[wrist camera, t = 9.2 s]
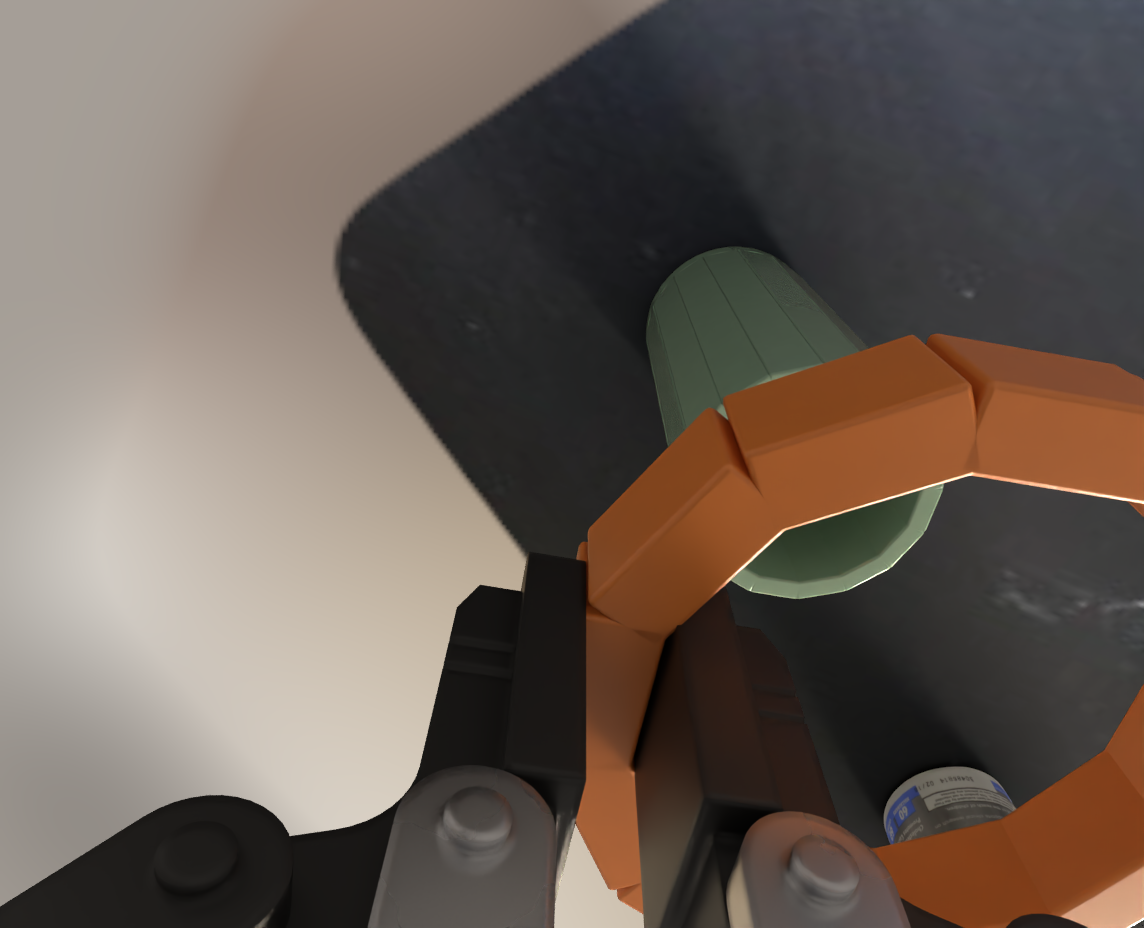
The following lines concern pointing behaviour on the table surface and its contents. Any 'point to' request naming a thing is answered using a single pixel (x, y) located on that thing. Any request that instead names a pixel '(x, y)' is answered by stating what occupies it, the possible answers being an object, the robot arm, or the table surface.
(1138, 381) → the ring
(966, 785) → the pill bottle
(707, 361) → the cup
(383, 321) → the table surface
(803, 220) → the table surface
